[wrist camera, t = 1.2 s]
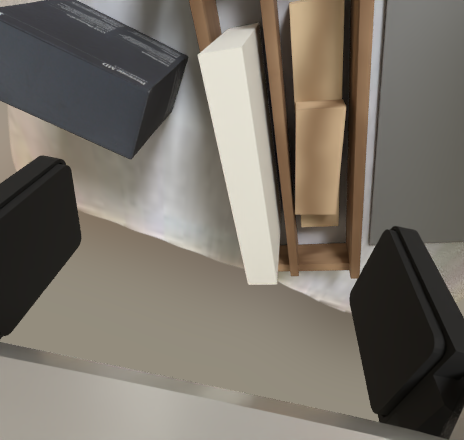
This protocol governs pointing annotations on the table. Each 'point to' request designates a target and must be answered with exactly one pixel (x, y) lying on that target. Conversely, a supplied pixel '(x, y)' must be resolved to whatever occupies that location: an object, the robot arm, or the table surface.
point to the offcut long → (317, 64)
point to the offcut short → (318, 155)
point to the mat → (421, 122)
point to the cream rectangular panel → (245, 145)
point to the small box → (87, 73)
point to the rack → (359, 86)
